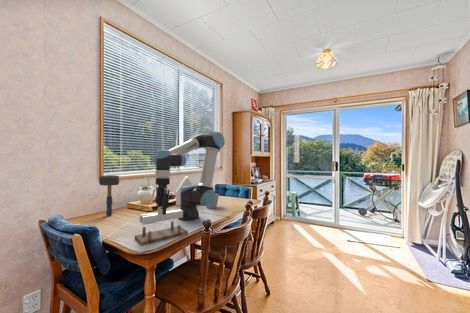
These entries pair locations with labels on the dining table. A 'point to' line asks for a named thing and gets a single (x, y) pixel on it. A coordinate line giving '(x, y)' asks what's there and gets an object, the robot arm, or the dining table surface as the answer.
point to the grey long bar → (156, 217)
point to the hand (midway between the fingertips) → (161, 218)
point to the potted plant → (214, 201)
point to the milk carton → (184, 183)
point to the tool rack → (160, 234)
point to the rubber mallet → (109, 189)
